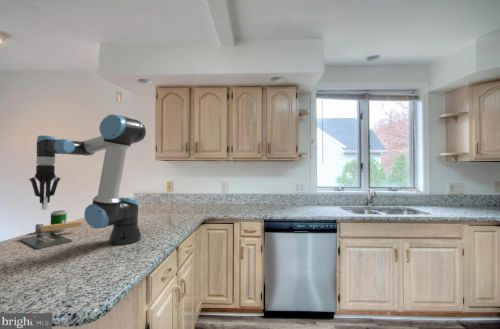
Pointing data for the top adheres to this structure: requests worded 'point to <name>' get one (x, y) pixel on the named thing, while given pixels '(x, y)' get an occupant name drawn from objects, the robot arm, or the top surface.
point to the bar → (56, 226)
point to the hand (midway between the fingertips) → (44, 209)
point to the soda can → (58, 219)
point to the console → (45, 240)
